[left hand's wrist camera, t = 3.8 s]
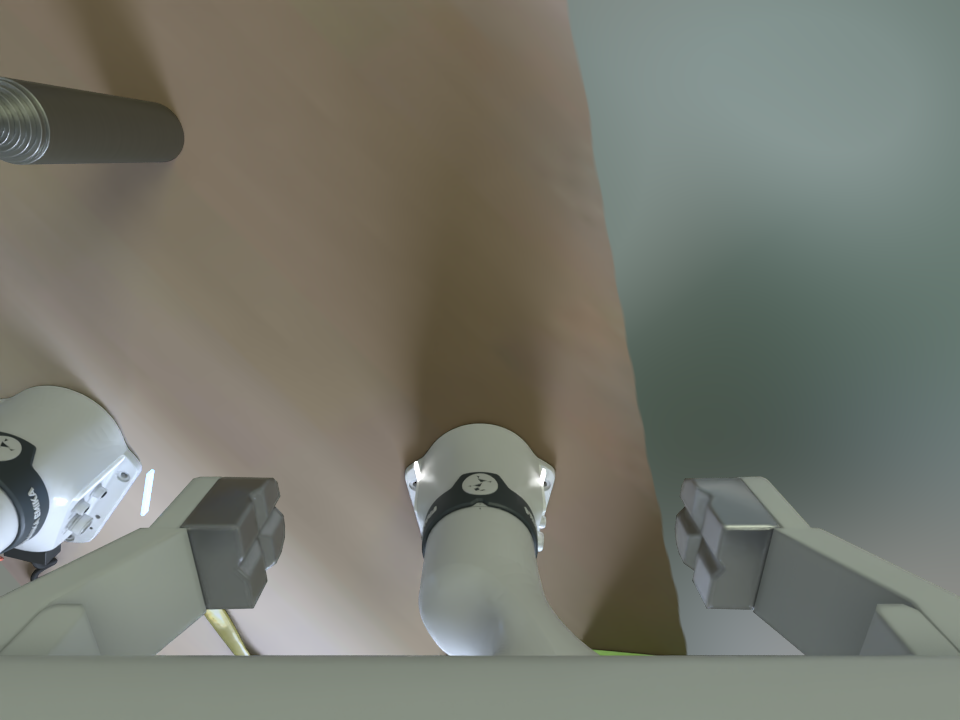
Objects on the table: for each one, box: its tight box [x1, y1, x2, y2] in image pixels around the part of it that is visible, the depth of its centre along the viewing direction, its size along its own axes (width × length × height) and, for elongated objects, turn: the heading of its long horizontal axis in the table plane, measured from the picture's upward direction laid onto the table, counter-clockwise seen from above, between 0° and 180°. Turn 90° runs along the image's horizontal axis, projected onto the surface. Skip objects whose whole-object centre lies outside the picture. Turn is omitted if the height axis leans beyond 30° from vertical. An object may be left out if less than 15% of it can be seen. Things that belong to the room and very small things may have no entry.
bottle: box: [0, 77, 184, 165], centre depth 42 cm, size 6×6×22 cm
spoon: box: [204, 609, 250, 656], centre depth 79 cm, size 35×11×2 cm, turn 22°
